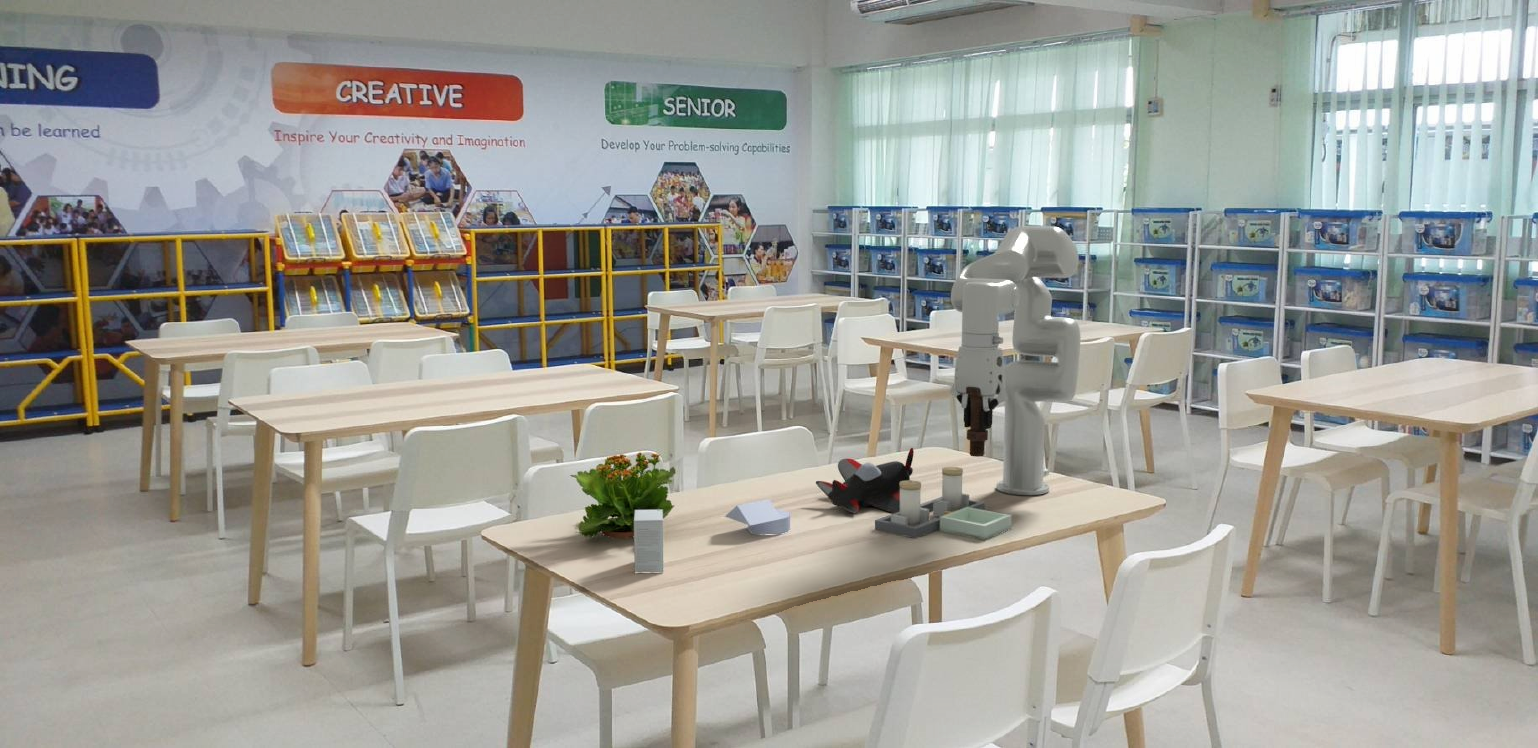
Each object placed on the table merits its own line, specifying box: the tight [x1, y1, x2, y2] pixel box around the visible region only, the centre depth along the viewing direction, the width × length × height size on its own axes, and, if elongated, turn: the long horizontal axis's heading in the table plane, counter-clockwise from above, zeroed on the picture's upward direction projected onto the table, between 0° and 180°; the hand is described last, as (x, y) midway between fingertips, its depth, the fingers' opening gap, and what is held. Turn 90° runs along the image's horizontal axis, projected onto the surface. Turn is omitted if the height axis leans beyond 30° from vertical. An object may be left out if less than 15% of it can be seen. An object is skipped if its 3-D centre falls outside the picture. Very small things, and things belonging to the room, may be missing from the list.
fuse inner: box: [941, 466, 964, 512], centre depth 265 cm, size 5×5×10 cm
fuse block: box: [874, 493, 986, 539], centre depth 259 cm, size 11×28×4 cm, turn 139°
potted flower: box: [569, 451, 677, 539], centre depth 250 cm, size 25×24×18 cm
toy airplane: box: [815, 447, 915, 514], centre depth 273 cm, size 28×24×15 cm
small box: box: [633, 510, 664, 573], centre depth 226 cm, size 8×6×10 cm
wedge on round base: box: [724, 498, 791, 535], centre depth 251 cm, size 9×7×13 cm
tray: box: [939, 507, 1012, 541], centre depth 251 cm, size 11×11×3 cm
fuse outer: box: [899, 480, 922, 527], centre depth 252 cm, size 5×5×10 cm
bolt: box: [966, 387, 989, 458], centre depth 248 cm, size 6×5×15 cm
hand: (977, 426), depth 248 cm, fingers closed on bolt, 3 cm apart
